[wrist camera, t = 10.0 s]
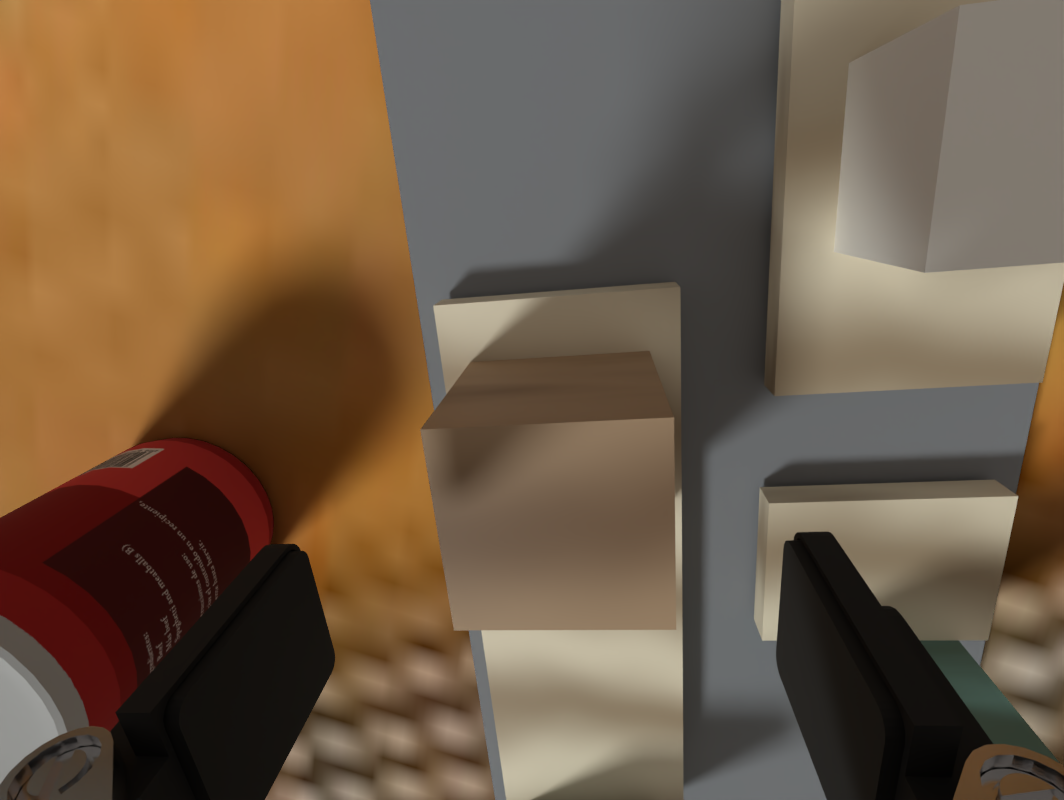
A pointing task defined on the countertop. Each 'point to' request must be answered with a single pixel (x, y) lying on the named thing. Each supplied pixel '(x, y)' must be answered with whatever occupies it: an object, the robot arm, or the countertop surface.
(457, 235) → the mat
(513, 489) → the cube
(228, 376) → the countertop surface
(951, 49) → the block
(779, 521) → the broken strip
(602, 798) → the strip
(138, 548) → the canned food
